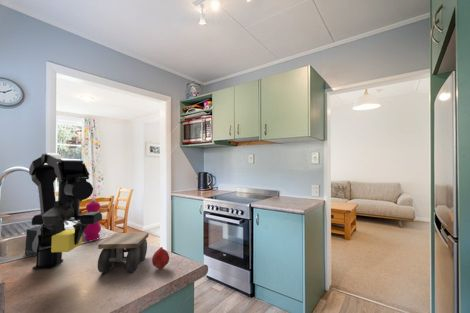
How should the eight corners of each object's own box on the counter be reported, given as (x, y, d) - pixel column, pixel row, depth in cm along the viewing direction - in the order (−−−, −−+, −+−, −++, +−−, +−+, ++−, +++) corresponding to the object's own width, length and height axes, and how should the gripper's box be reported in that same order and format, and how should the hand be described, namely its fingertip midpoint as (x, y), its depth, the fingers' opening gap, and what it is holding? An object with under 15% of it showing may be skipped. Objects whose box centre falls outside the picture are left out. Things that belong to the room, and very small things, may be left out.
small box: (36, 256, 87) (37, 230, 87) (23, 255, 88) (24, 229, 89) (62, 246, 97) (63, 223, 98) (50, 245, 99) (51, 222, 99)
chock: (51, 252, 67) (51, 236, 68) (66, 244, 74) (67, 229, 75) (68, 251, 68) (68, 235, 68) (82, 243, 75) (82, 229, 75)
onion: (148, 269, 77) (149, 246, 78) (163, 264, 82) (164, 242, 82) (156, 275, 73) (157, 251, 74) (172, 269, 78) (172, 246, 78)
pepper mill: (88, 236, 111) (90, 197, 112) (103, 236, 112) (104, 197, 112) (79, 241, 104) (81, 199, 105) (95, 241, 105) (97, 199, 105)
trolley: (94, 277, 72) (95, 246, 72) (116, 256, 88) (117, 231, 88) (134, 275, 73) (135, 245, 73) (149, 255, 89) (149, 231, 89)
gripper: (16, 201, 63) (14, 255, 62) (84, 200, 64) (82, 253, 64) (46, 195, 74) (44, 241, 73) (103, 195, 76) (102, 240, 75)
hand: (67, 244), depth 71 cm, fingers closed on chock, 5 cm apart
